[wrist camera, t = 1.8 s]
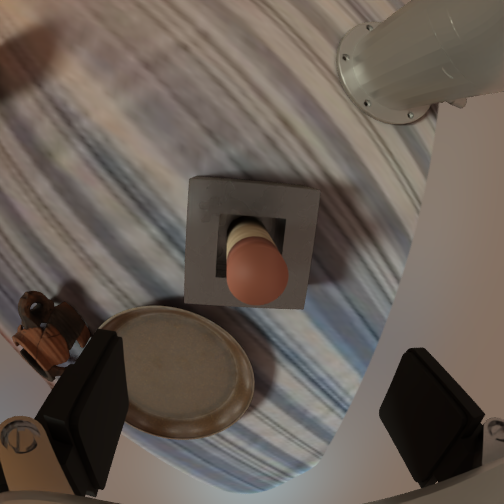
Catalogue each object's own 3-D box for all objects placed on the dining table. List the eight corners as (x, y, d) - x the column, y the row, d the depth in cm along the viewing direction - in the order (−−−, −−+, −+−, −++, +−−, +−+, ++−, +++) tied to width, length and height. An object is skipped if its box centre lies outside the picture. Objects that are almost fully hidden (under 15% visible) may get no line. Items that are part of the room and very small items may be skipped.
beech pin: (268, 217, 32) (292, 249, 20) (264, 255, 33) (284, 306, 21) (228, 214, 31) (229, 244, 20) (225, 253, 32) (224, 303, 21)
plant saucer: (75, 300, 34) (64, 311, 31) (245, 287, 35) (246, 299, 32) (120, 422, 40) (115, 437, 36) (257, 418, 41) (259, 435, 37)
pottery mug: (106, 352, 36) (69, 397, 30) (64, 333, 40) (30, 370, 33) (66, 277, 30) (15, 324, 24) (28, 266, 34) (-15, 303, 27)
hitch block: (304, 185, 32) (320, 190, 26) (291, 285, 35) (303, 309, 29) (196, 176, 31) (189, 179, 25) (190, 279, 34) (184, 303, 28)
